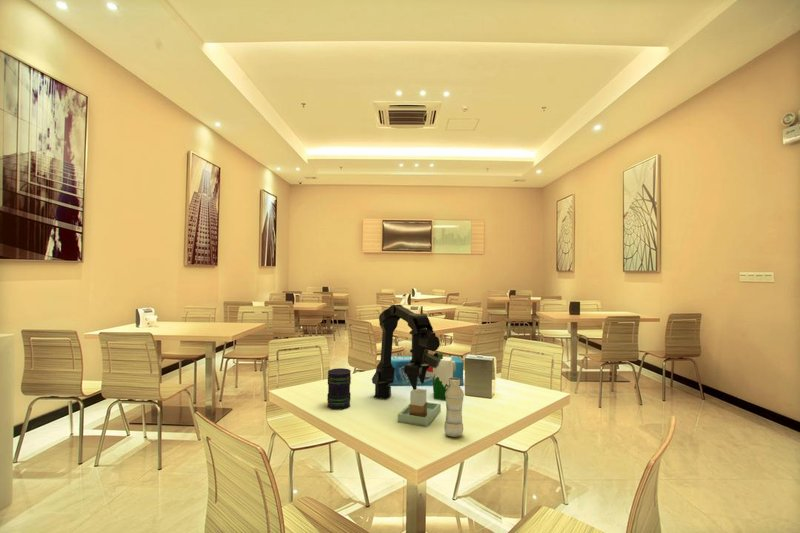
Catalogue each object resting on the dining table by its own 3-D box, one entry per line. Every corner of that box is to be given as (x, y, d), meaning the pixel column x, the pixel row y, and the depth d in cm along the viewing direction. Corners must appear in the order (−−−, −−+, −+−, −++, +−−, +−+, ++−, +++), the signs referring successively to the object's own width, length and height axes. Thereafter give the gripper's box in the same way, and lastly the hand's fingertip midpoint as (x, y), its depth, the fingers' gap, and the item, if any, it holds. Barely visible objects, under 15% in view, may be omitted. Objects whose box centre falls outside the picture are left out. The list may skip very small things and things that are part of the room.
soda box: (384, 386, 198) (385, 360, 199) (385, 379, 212) (385, 355, 212) (463, 386, 199) (464, 361, 200) (459, 379, 213) (459, 355, 213)
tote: (397, 422, 150) (397, 414, 150) (413, 407, 167) (413, 400, 167) (427, 426, 146) (427, 418, 146) (440, 411, 163) (440, 403, 163)
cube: (410, 404, 153) (410, 391, 154) (414, 400, 158) (414, 388, 158) (422, 406, 152) (422, 393, 152) (426, 402, 156) (426, 389, 156)
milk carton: (434, 393, 186) (434, 351, 187) (453, 395, 184) (453, 352, 185) (431, 399, 178) (432, 355, 178) (451, 401, 176) (452, 356, 176)
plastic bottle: (442, 432, 141) (443, 376, 142) (461, 431, 142) (461, 376, 142) (446, 439, 135) (446, 381, 135) (465, 439, 135) (465, 381, 136)
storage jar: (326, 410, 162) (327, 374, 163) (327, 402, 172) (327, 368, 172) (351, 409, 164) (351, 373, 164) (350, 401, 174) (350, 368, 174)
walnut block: (422, 419, 151) (422, 406, 151) (409, 417, 153) (409, 404, 153) (427, 414, 156) (427, 402, 156) (414, 412, 158) (414, 400, 158)
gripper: (431, 352, 144) (431, 395, 143) (444, 344, 161) (444, 382, 161) (403, 350, 148) (402, 392, 147) (419, 342, 165) (418, 379, 165)
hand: (418, 386), depth 155 cm, fingers open, 9 cm apart
